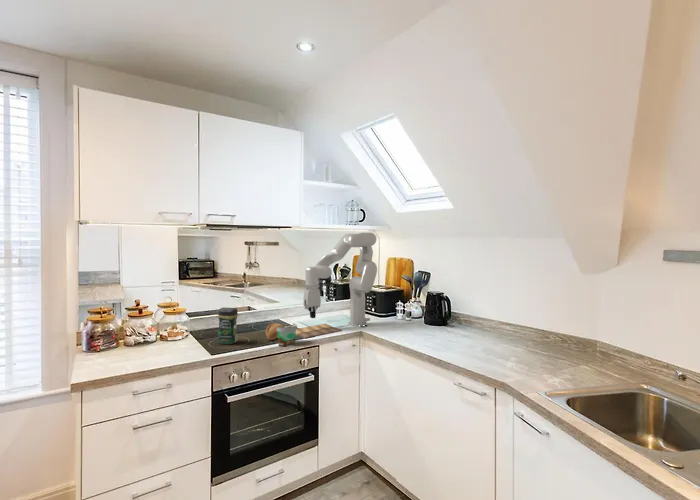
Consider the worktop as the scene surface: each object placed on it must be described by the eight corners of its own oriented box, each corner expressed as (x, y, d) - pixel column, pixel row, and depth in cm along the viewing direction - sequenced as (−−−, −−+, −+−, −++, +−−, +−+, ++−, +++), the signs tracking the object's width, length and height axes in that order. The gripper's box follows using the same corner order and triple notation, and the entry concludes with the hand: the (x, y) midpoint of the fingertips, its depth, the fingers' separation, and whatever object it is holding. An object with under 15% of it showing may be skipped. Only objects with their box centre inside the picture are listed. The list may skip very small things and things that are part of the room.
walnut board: (333, 329, 219) (333, 327, 219) (341, 332, 213) (341, 329, 213) (297, 336, 202) (297, 334, 202) (305, 339, 196) (305, 337, 196)
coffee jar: (215, 344, 186) (215, 308, 185) (222, 340, 193) (222, 305, 193) (233, 345, 184) (233, 309, 184) (239, 340, 192) (239, 306, 192)
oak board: (325, 325, 226) (325, 323, 226) (332, 329, 220) (333, 326, 220) (289, 332, 209) (289, 330, 208) (296, 336, 203) (297, 333, 202)
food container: (284, 349, 179) (284, 329, 179) (276, 346, 183) (276, 327, 183) (302, 343, 189) (302, 324, 189) (293, 341, 193) (294, 323, 192)
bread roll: (261, 341, 193) (261, 326, 193) (271, 333, 208) (271, 320, 207) (278, 342, 191) (278, 327, 191) (287, 334, 206) (287, 321, 206)
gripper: (318, 285, 222) (319, 314, 222) (298, 288, 212) (298, 318, 213) (325, 286, 216) (326, 316, 217) (305, 289, 206) (306, 321, 207)
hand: (312, 317), depth 215 cm, fingers closed
